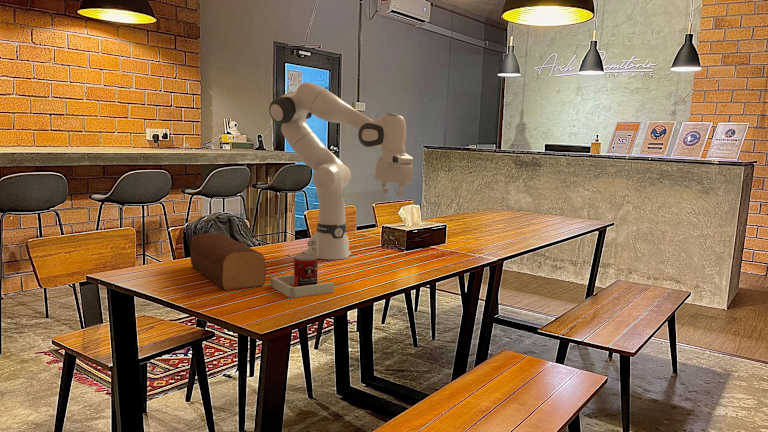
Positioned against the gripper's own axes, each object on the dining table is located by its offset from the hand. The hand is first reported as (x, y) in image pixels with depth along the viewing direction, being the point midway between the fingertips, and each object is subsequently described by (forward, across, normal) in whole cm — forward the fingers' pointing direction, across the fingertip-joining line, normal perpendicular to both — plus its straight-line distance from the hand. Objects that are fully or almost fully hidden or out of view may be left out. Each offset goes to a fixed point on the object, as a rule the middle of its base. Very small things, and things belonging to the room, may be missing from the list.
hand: (392, 194), depth 221 cm
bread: (+30, -20, -57) cm, 68 cm away
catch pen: (+29, +9, -41) cm, 51 cm away
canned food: (+29, +9, -40) cm, 51 cm away
